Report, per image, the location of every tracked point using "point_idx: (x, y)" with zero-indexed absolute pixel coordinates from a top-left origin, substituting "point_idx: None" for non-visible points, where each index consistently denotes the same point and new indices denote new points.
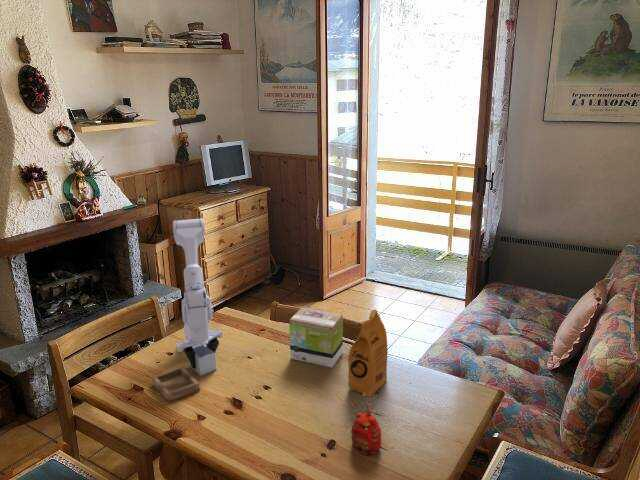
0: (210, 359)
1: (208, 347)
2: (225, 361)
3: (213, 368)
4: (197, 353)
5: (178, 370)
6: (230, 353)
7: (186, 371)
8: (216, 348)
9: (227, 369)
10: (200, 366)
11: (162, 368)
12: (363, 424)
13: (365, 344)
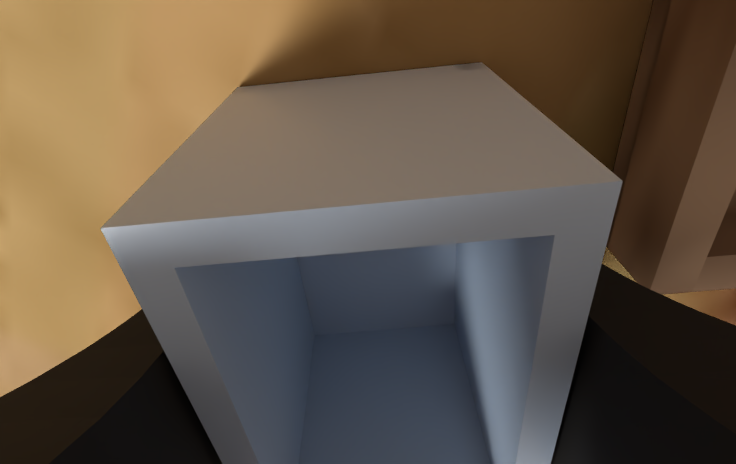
0: (278, 153)
1: (215, 460)
2: (92, 212)
3: (271, 93)
4: (383, 418)
5: (727, 246)
6: (27, 317)
7: (708, 148)
8: (42, 376)
9: (77, 7)
10: (507, 109)
11: None
12: None
13: None
